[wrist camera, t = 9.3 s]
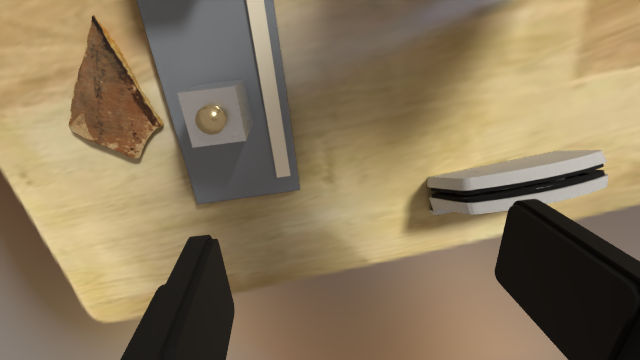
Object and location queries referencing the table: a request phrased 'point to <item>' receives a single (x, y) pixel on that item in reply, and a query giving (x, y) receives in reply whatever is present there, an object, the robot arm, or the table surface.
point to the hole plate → (219, 66)
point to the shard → (110, 98)
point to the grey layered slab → (518, 182)
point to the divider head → (216, 112)
